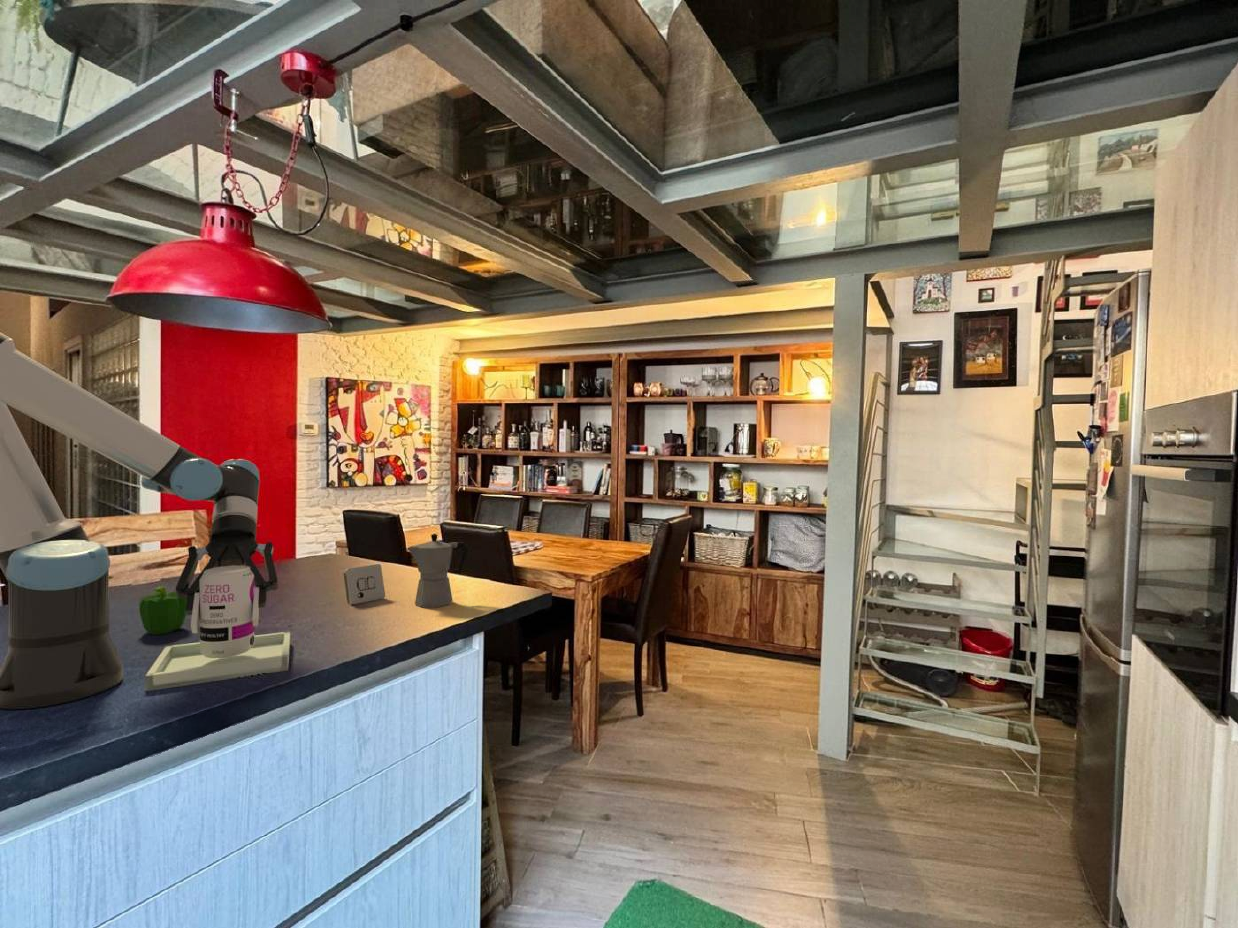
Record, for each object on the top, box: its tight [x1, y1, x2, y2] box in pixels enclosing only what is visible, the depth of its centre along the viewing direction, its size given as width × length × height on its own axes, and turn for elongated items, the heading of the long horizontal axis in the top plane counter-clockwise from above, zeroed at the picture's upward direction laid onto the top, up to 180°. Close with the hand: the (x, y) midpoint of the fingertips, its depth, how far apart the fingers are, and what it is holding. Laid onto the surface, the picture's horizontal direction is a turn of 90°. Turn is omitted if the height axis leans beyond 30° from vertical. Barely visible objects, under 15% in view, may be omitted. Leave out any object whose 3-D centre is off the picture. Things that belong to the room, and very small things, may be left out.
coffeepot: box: [406, 533, 470, 609], centre depth 149 cm, size 15×9×18 cm, turn 112°
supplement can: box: [199, 565, 255, 658], centre depth 104 cm, size 8×8×15 cm
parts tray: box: [144, 631, 291, 692], centre depth 104 cm, size 20×16×2 cm
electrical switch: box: [343, 563, 386, 605], centre depth 151 cm, size 9×5×9 cm, turn 141°
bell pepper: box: [138, 586, 187, 635], centre depth 123 cm, size 8×8×10 cm
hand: (225, 625), depth 102 cm, fingers closed on supplement can, 8 cm apart
